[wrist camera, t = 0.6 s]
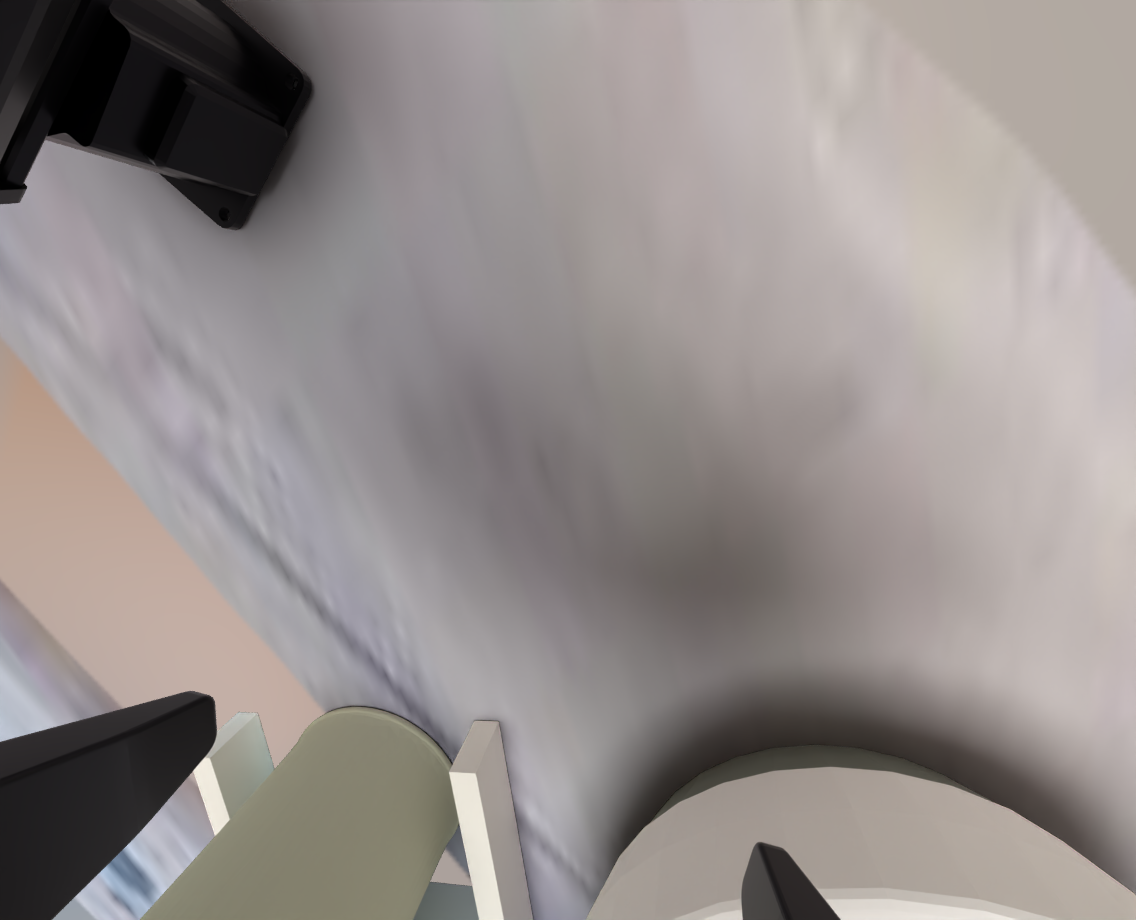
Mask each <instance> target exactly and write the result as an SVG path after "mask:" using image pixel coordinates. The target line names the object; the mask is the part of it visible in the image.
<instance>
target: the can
mask: <svg viewBox="0 0 1136 920" xmlns="http://www.w3.org/2000/svg"><path fill="white" fill-rule="evenodd" d="M451 767H452V764H451V763H450V761H449V759H448V758H447V756H446V755H445V753H444V752H443V751H442V750H441V748H440V747H439V746H438V745H437V744H436V743H435V742H434V741H433V740H432V739H431V738H430V737H429V736H428V735H427V734H425V733H424V732H423V731H422V730H421V729H419V728H418V727H416V726H415V725H413V724H412V723H410V722H408V721H407V720H405V719H403V718H401V717H398V716H396V715H394V714H391V713H388V712H386V711H382V710H378V709H374V708H367V707H347V708H341V709H336V710H333V711H331V712H328V713H326V714H324V715H322V716H320V717H319V718H317V719H316V720H315V721H313V722H312V723H311V724H310V725H309V726H308V727H307V729H306V730H305V731H304V732H303V734H302V735H301V737H300V739H299V741H298V742H297V744H296V745H295V746H294V747H293V749H292V750H291V751H290V752H289V753H288V755H287V756H286V757H285V758H284V759H283V760H282V762H281V763H280V764H279V765H278V766H277V767H276V768H275V769H274V771H273V772H272V773H271V774H270V775H269V776H268V777H267V779H266V780H265V781H264V782H263V783H262V784H261V785H260V786H259V788H258V789H257V790H256V791H255V792H254V793H253V794H252V796H251V797H250V798H249V799H248V800H247V801H246V802H245V803H244V804H243V806H242V807H241V808H240V809H239V810H238V811H237V812H236V813H235V815H234V816H233V817H232V818H231V819H230V820H229V821H228V822H227V823H226V825H225V826H224V827H223V828H222V829H221V830H220V831H219V832H218V834H217V835H216V836H215V837H214V838H213V839H212V840H211V841H210V843H209V844H208V845H207V846H206V847H205V848H204V849H203V850H202V851H201V853H200V854H199V855H198V856H197V857H196V858H195V859H194V860H193V862H192V863H191V864H190V865H189V866H188V867H187V868H186V869H185V871H184V872H183V873H182V874H181V875H180V876H179V877H178V878H177V879H176V880H175V881H174V883H173V884H172V885H171V886H170V887H169V888H168V889H167V890H166V891H165V892H164V894H163V895H162V896H161V897H160V898H159V899H158V900H157V901H156V902H155V903H154V905H153V906H152V907H151V908H150V909H149V910H148V911H147V912H146V913H145V914H144V916H143V917H142V918H141V919H140V920H413V919H414V916H415V914H416V912H417V910H418V907H419V905H420V903H421V900H422V898H423V896H424V894H425V891H426V889H427V887H428V885H429V882H430V880H431V878H432V876H433V873H434V871H435V869H436V867H437V865H438V862H439V860H440V858H441V856H442V854H443V852H444V850H445V848H446V846H447V844H448V842H449V841H450V839H451V838H452V837H453V835H454V833H455V831H456V829H457V827H458V825H459V819H458V814H457V809H456V804H455V799H454V794H453V789H452V785H451V780H450V775H449V771H450V769H451Z"/></svg>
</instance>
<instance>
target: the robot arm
mask: <svg viewBox="0 0 1136 920" xmlns="http://www.w3.org/2000/svg"><path fill="white" fill-rule="evenodd" d="M295 79H297V80H298V84H297V87H296V88H295V89H293V86H292V85H293V81H294V80H295ZM310 92H311V82H310V79H309V77H308V76H307V75H306V73H304V72H303V71H302V70H301V69H300V68H299V67H298V66H296V65H295V64H294V63H293V62H292V61H291V60H290V59H289V58H287V57H286V56H285V55H284V54H283V53H282V52H281V51H279V50H278V49H277V48H276V47H275V46H274V45H273V44H272V43H270V42H269V41H268V40H267V39H266V38H265V37H264V36H263V35H261V34H260V33H259V32H258V31H257V30H256V29H255V28H253V27H252V26H251V25H250V24H249V23H248V22H247V21H246V20H244V19H243V18H242V17H241V16H240V15H239V14H238V13H236V12H235V11H234V10H233V9H232V8H231V7H230V6H229V5H227V4H226V3H225V2H224V1H223V0H0V204H10V203H19V202H20V201H21V199H22V197H23V195H24V193H25V191H26V189H27V186H26V185H25V184H24V182H25V180H26V178H27V176H28V174H29V172H30V170H31V168H32V165H33V163H34V161H35V159H36V157H37V155H38V153H39V151H40V149H41V147H42V145H43V143H44V141H45V140H48V141H51V142H54V143H58V144H61V145H65V146H68V147H71V148H75V149H78V150H82V151H85V152H89V153H92V154H95V155H99V156H102V157H106V158H109V159H113V160H116V161H119V162H123V163H126V164H130V165H133V166H137V167H140V168H143V169H147V170H150V171H154V172H157V173H159V174H160V175H162V176H163V177H164V178H165V179H166V180H167V181H168V182H170V183H171V184H172V185H173V186H174V187H175V188H177V189H178V190H179V191H180V192H181V193H182V194H183V195H185V196H186V197H187V198H188V199H189V200H190V201H191V202H193V203H194V204H195V205H196V206H197V207H198V208H199V209H201V210H202V211H203V212H204V213H205V214H206V215H208V216H209V217H210V218H211V219H212V220H213V221H214V222H216V223H217V224H218V225H219V226H221V227H222V228H226V229H231V230H237V229H239V228H240V227H241V226H242V225H243V223H244V221H245V219H246V217H247V215H248V213H249V211H250V209H251V207H252V205H253V203H254V202H255V200H256V198H257V196H258V194H259V192H260V190H261V188H262V186H263V184H264V183H265V181H266V179H267V177H268V175H269V173H270V171H271V169H272V167H273V165H274V163H275V161H276V159H277V157H278V156H279V154H280V152H281V150H282V148H283V146H284V144H285V142H286V140H287V138H288V136H289V134H290V132H291V130H292V128H293V126H294V124H295V123H296V121H297V119H298V117H299V115H300V113H301V111H302V109H303V107H304V105H305V103H306V101H307V99H308V98H309V96H310ZM228 211H229V212H230V219H229V220H228V219H227V212H228ZM216 736H217V725H216V711H215V701H214V699H213V697H211V696H209V695H206V694H202V693H198V692H195V691H188V692H183V693H179V694H176V695H172V696H168V697H165V698H161V699H158V700H154V701H150V702H146V703H143V704H139V705H135V706H132V707H128V708H124V709H120V710H117V711H113V712H109V713H105V714H102V715H98V716H94V717H91V718H87V719H83V720H80V721H76V722H72V723H68V724H65V725H61V726H57V727H54V728H50V729H46V730H43V731H39V732H35V733H31V734H28V735H24V736H20V737H17V738H13V739H9V740H6V741H2V742H0V920H52V919H53V918H54V917H55V916H56V915H57V914H58V913H59V912H60V911H61V910H62V909H63V908H64V907H65V906H66V905H67V904H68V903H69V902H70V901H71V900H72V899H73V898H74V897H75V896H76V895H77V894H78V893H79V892H80V891H81V890H82V889H83V888H84V887H85V886H86V885H87V884H88V883H89V882H90V881H91V880H92V879H94V878H95V877H96V876H97V875H98V874H99V873H100V872H101V871H102V870H103V869H104V868H105V867H106V866H107V865H108V864H109V863H110V862H111V861H112V860H113V859H114V858H115V857H116V856H117V855H118V854H119V853H120V852H121V851H122V850H123V849H124V848H125V847H126V846H127V845H128V844H129V843H130V842H131V841H132V840H133V839H134V838H135V837H136V835H137V834H138V833H139V832H140V831H141V830H142V829H143V828H144V827H145V826H146V825H147V823H148V822H149V821H150V820H151V819H152V818H153V817H154V816H155V814H156V813H157V812H158V811H159V810H160V809H161V808H162V806H163V805H164V804H165V803H166V802H167V801H168V799H169V798H170V797H171V796H172V795H173V794H174V792H175V791H176V790H177V789H178V788H179V787H180V786H181V784H182V783H183V782H184V781H185V780H186V779H187V777H188V776H189V775H190V774H191V773H192V772H193V770H194V769H195V768H196V767H197V766H198V765H199V764H200V762H201V761H202V760H203V759H204V758H205V757H206V755H207V754H208V753H209V752H210V750H211V748H212V747H213V745H214V743H215V740H216ZM741 905H742V917H743V920H841V919H840V918H839V917H838V915H837V914H836V913H835V912H834V910H833V909H832V908H831V907H830V905H829V904H828V903H827V902H826V900H825V899H824V898H823V896H822V895H821V894H820V893H819V891H818V890H817V889H816V888H815V886H814V885H813V884H812V883H811V881H810V880H809V879H808V878H807V876H806V875H805V874H804V872H803V871H802V870H801V869H800V867H799V866H798V865H797V864H796V862H795V861H794V860H793V859H792V857H791V856H790V855H789V854H788V852H786V851H785V850H784V849H783V848H781V847H778V846H774V845H771V844H767V843H763V842H757V843H756V844H755V845H754V847H753V850H752V853H751V856H750V859H749V862H748V866H747V869H746V872H745V875H744V878H743V882H742V890H741Z"/></svg>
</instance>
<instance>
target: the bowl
mask: <svg viewBox="0 0 1136 920" xmlns="http://www.w3.org/2000/svg"><path fill="white" fill-rule="evenodd" d="M757 842H763V843H767V844H771V845H774V846H778V847H781V848H783V849H784V850H785V851H786V852H788V854H789V855H790V856H791V857H792V859H793V860H794V861H795V862H796V864H797V865H798V866H799V867H800V869H801V870H802V871H803V872H804V874H805V875H806V876H807V878H808V879H809V880H810V881H811V883H812V884H813V885H814V886H815V888H816V889H817V890H818V891H819V893H820V894H821V895H822V896H823V898H824V899H825V900H826V902H827V903H828V904H829V905H830V907H831V908H832V909H833V910H834V912H835V913H836V914H837V915H838V917H839V918H840V919H841V920H1136V895H1135V894H1134V893H1133V892H1131V891H1130V890H1129V889H1127V888H1126V887H1125V886H1123V885H1122V884H1120V883H1119V882H1118V881H1116V880H1115V879H1114V878H1112V877H1111V876H1109V875H1108V874H1107V873H1105V872H1104V871H1103V870H1101V869H1100V868H1099V867H1097V866H1096V865H1094V864H1093V863H1092V862H1090V861H1089V860H1088V859H1086V858H1085V857H1084V856H1082V855H1081V854H1079V853H1078V852H1077V851H1075V850H1074V849H1073V848H1071V847H1070V846H1069V845H1067V844H1066V843H1064V842H1063V841H1062V840H1060V839H1058V838H1057V837H1055V836H1054V835H1052V834H1050V833H1049V832H1047V831H1045V830H1044V829H1042V828H1040V827H1039V826H1037V825H1035V824H1034V823H1032V822H1030V821H1029V820H1027V819H1026V818H1024V817H1022V816H1021V815H1019V814H1017V813H1016V812H1014V811H1012V810H1011V809H1008V808H1006V807H1003V806H1001V805H999V804H997V803H995V802H993V801H991V800H989V799H987V798H985V797H983V796H981V795H980V794H978V793H976V792H974V791H972V790H970V789H968V788H966V787H964V786H962V785H960V784H959V783H957V782H955V781H953V780H951V779H950V778H948V777H946V776H945V775H943V774H941V773H938V772H936V771H933V770H931V769H928V768H926V767H923V766H921V765H918V764H916V763H913V762H911V761H908V760H906V759H903V758H900V757H895V756H891V755H887V754H882V753H878V752H874V751H869V750H865V749H861V748H853V747H839V746H826V745H804V746H792V747H779V748H771V749H767V750H763V751H759V752H755V753H751V754H747V755H743V756H739V757H735V758H733V759H730V760H728V761H726V762H724V763H722V764H719V765H717V766H715V767H713V768H711V769H709V770H706V771H704V772H702V773H701V774H699V775H698V776H696V777H695V778H694V779H692V780H691V781H690V782H688V783H687V784H685V785H684V786H683V787H681V788H680V789H679V790H677V791H676V792H675V793H674V794H673V795H672V796H671V798H670V799H669V800H668V801H667V802H666V803H665V805H664V806H663V807H662V808H661V809H660V810H659V811H658V813H657V814H656V815H655V817H654V818H653V820H652V821H651V822H650V823H649V824H648V825H647V826H645V827H644V828H643V829H642V831H641V832H640V833H639V834H638V835H637V836H636V838H635V839H634V840H633V841H632V842H631V843H630V845H629V846H628V847H627V848H626V849H625V850H624V852H623V853H622V854H621V855H620V856H619V858H618V860H617V862H616V864H615V865H614V867H613V869H612V871H611V873H610V875H609V877H608V879H607V880H606V882H605V884H604V886H603V888H602V890H601V892H600V893H599V895H598V897H597V899H596V901H595V903H594V905H593V907H592V908H591V910H590V912H589V914H588V916H587V918H586V920H743V917H742V905H741V890H742V882H743V878H744V875H745V872H746V869H747V866H748V862H749V859H750V856H751V853H752V850H753V847H754V845H755V844H756V843H757Z"/></svg>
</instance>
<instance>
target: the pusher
mask: <svg viewBox="0 0 1136 920" xmlns="http://www.w3.org/2000/svg"><path fill="white" fill-rule="evenodd" d="M413 920H479V916H478V911H477V907H476V902H475V897H474V892H473V887H472V886H465V885H456V884H446V883H437V882H429V885H428V887H427V889H426V891H425V894H424V896H423V898H422V900H421V903H420V905H419V907H418V910H417V912H416V914H415V916H414V919H413Z"/></svg>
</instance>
